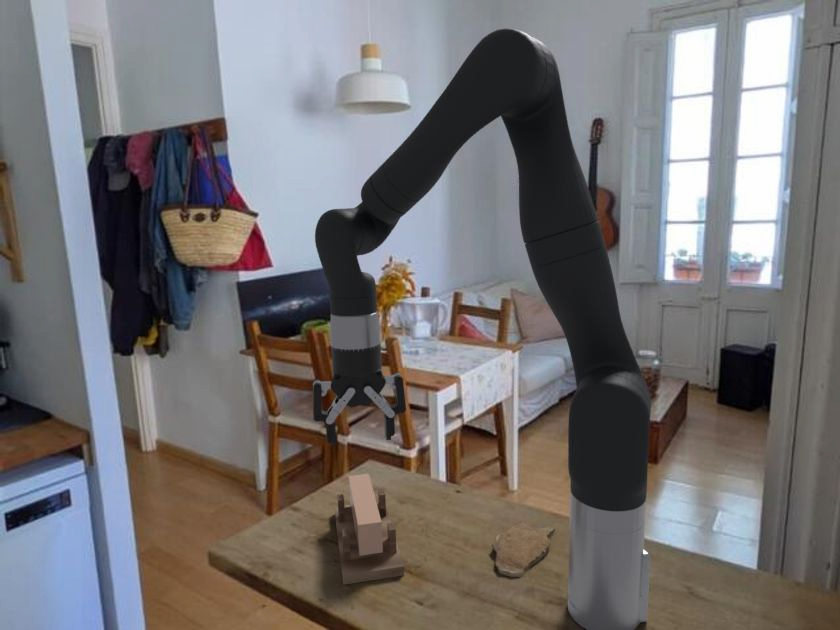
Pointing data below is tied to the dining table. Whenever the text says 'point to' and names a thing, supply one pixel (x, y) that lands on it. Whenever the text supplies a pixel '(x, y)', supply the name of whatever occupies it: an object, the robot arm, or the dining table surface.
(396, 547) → the brown cradle stand
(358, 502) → the clay bar
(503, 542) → the pottery shard
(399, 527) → the dining table surface
